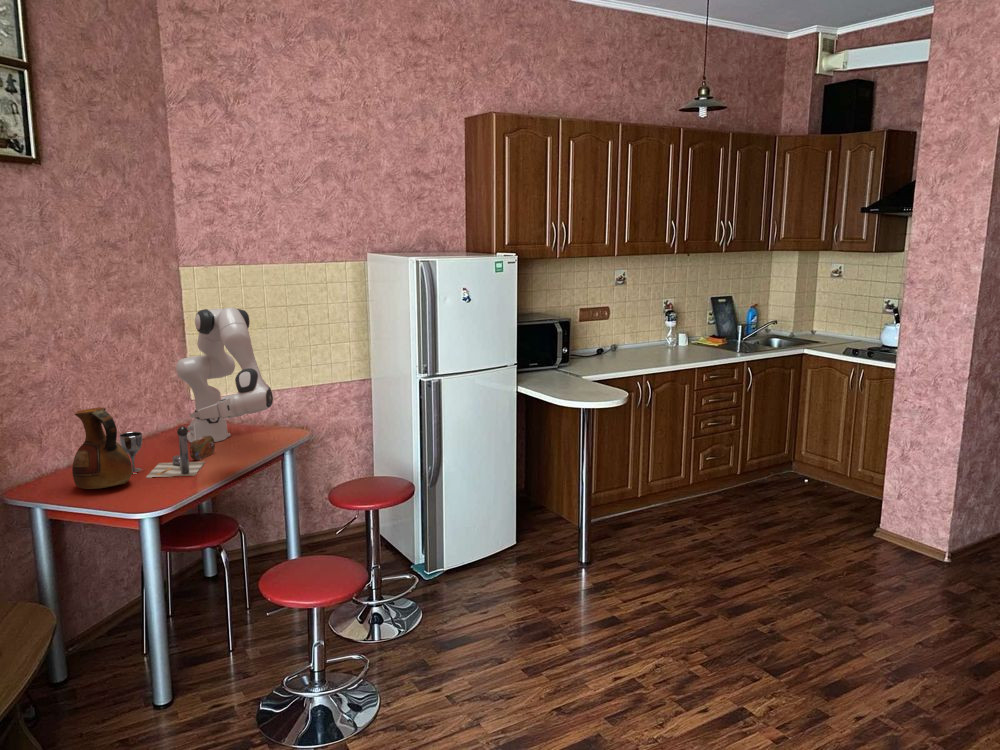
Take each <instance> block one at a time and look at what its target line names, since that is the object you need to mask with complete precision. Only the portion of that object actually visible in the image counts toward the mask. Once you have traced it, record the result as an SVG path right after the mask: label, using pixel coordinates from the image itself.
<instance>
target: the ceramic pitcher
mask: <svg viewBox="0 0 1000 750" xmlns="http://www.w3.org/2000/svg"><path fill="white" fill-rule="evenodd" d="M106 409H107V408H106V407H103V406H102V407H93V408H85V409H82V410H81V409H80V410H78V411H75V413H74V414H73V415H74V416H76V417H77V418H78V419H79V420H80V422H82V425H83V428H84V432H85V439H84V441H83V443H82V444H81V445H80V446H79V448H78V449H77V451H76V453H75V455H74V458H73V461H72V472H71V473H72V478H73V482H74V485H75V486H76V487H77V488H80V489H84V490H85V489H86V490H96V489H98V490H99V489H105V488H110V487H115V486H118V485H119V486H120V485H123V484H126V483H127V482H128V481H129V480H130V479H131V478H132V475H133V474H132V461H131V457H130V456H129V454H128V453H126V451H125V450H124V448H123V447H122V446H121V444H120V443H118V442H117V437H118V429H117V425H116V423H115V421H114V418H113V416H112V415H111V414H109V412H108V411H106Z"/></svg>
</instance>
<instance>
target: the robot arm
mask: <svg viewBox="0 0 1000 750" xmlns="http://www.w3.org/2000/svg"><path fill="white" fill-rule="evenodd" d="M194 325H195V328H196V331H197V332H198V337H197V342H196V345H197V348H198V349H199V351H200V352H201V353H202V354H203V355H194V356H193V355H192V356H188V357H185V358H181V359H179V360H178V361H177V363H176V366H175V372H176V375H177V377H178V378H179V379H180V380H181V381H183V382H185V383H186V384H187V385H188V386H189V387H190V389H191V390H192V393H193V399H194V406H195V409H194V412H192V413H189V417H190V418H191V419H192V420H191V422H190V423H189V425H187V427H186V428H187V429H188V434H187V442H189V443H192V442H193V441H195V440H197V439H199V438H201V437H203V436H212V437H213V439H214V442H215V443H216V442H221V441H225V440H226V439H228V438H229V437H231V436H232V434H231V433H230V432H228V424H227V419H232V418H238V417H243V416H244V415H246V414H250V415H251V414H256V413H259V412H263V411H265V410H268V409H270V408H271V407H272V405H273V402H274V396H273V391H272V389H271V387H270V386H269V384H267V383H266V381H265V380H264V378H263V377H262V374H261V371H260V368H259V366H258V364H257V363H258V362H257V361H256V357H255V353H254V348H253V345H252V340H251V335H250V332H249V331H250V330H249V327H250V316H249V313H248V312H247V311H246V310H244V309H241V308H236V307H235V308H234V307H225V308H211V309H208V308H207V309H206V308H204V309H201V310H199V311H197V312H196V314H195V319H194ZM225 349H226V350H227V351H228V352H229V354H228V353H227V352H226V351H225ZM235 361H236V362H237V364H238V365H239V367H240V368H241V370H240V371H239V372H238V373H237V374H236V376H235V378H234V379H235V380H234V381H235V385H236V390H237V393H234V394H229V395H224V396H222V395H221V391H220V390H219V389H218V388H216V387H214V386H211V385H209V383H208V380H213V379H221V378H224V377H228V376H231V375H232V374H234V372H235V368H236V362H235ZM221 396H222V398H221Z"/></svg>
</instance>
